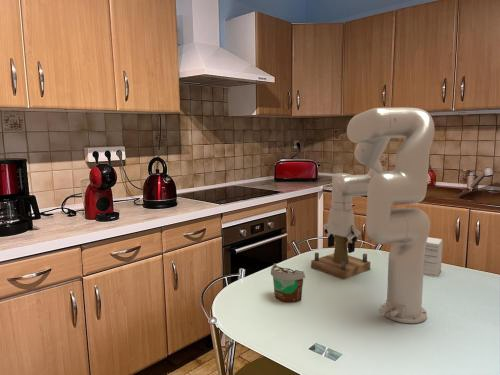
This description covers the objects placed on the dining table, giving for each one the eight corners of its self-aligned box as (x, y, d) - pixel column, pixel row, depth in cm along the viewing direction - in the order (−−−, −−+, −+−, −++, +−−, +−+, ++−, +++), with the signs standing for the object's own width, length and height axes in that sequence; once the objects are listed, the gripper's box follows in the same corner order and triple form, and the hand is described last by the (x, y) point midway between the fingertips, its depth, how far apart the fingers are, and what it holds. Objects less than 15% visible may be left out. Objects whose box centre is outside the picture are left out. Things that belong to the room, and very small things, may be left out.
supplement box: (420, 267, 154) (422, 236, 152) (441, 271, 149) (443, 239, 147) (416, 273, 148) (417, 240, 146) (437, 277, 143) (439, 243, 142)
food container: (262, 297, 129) (262, 267, 127) (274, 291, 133) (274, 262, 132) (293, 308, 120) (293, 276, 119) (305, 301, 125) (305, 271, 123)
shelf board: (343, 279, 143) (344, 263, 142) (311, 267, 155) (311, 253, 154) (370, 269, 152) (370, 254, 151) (337, 259, 165) (337, 245, 164)
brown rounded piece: (337, 257, 157) (338, 230, 156) (351, 260, 153) (352, 233, 152) (329, 261, 153) (330, 234, 151) (344, 264, 149) (344, 236, 147)
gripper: (317, 203, 154) (317, 246, 157) (354, 210, 141) (353, 256, 143) (330, 201, 159) (329, 242, 161) (367, 207, 146) (365, 252, 148)
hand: (340, 249), depth 152 cm, fingers open, 9 cm apart
